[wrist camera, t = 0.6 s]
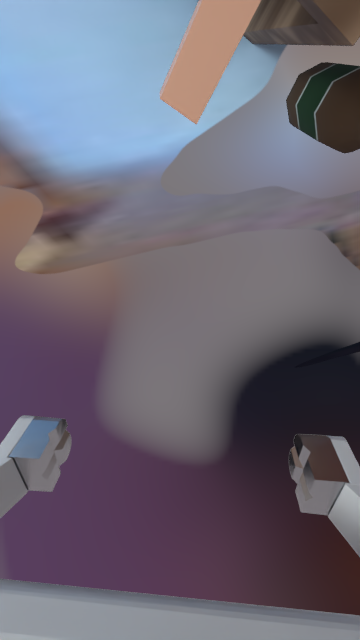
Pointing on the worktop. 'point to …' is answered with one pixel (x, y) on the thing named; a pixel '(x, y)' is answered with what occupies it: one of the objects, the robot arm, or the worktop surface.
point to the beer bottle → (328, 105)
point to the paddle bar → (205, 53)
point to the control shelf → (305, 22)
